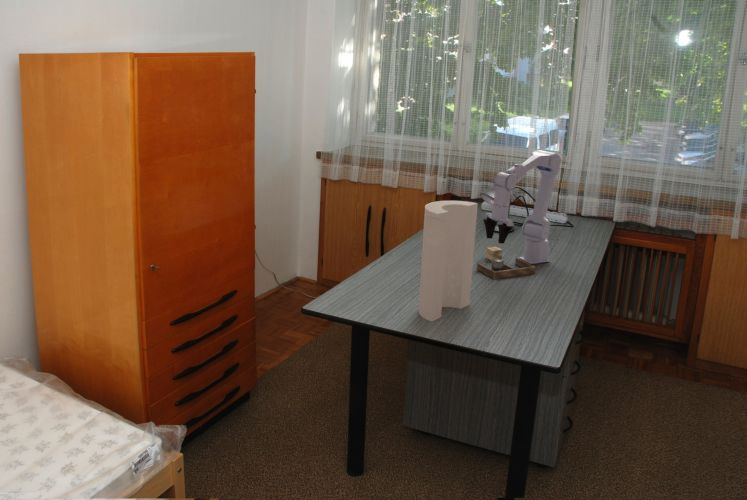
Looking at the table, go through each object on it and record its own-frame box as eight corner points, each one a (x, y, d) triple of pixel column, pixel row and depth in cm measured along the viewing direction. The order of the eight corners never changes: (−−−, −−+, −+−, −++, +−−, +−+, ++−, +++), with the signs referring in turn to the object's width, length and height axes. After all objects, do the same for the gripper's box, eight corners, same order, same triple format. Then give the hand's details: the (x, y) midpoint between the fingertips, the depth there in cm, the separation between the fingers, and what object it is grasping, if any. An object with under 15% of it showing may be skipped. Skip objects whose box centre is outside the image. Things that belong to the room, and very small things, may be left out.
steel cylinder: (497, 270, 282) (499, 258, 281) (504, 274, 278) (506, 261, 277) (488, 271, 280) (489, 259, 279) (495, 275, 276) (496, 262, 275)
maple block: (494, 257, 298) (495, 246, 297) (501, 260, 295) (502, 249, 293) (485, 258, 297) (486, 247, 295) (492, 261, 293) (493, 250, 291)
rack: (516, 264, 290) (517, 258, 290) (534, 273, 281) (535, 266, 280) (476, 269, 282) (477, 263, 282) (494, 278, 273) (494, 272, 272)
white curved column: (471, 305, 246) (433, 322, 231) (444, 296, 253) (405, 312, 238) (480, 203, 235) (440, 214, 220) (451, 197, 243) (411, 207, 227)
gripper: (480, 200, 277) (475, 235, 280) (504, 208, 264) (498, 245, 267) (496, 201, 280) (490, 236, 283) (519, 209, 268) (513, 245, 271)
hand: (495, 240), depth 275 cm, fingers open, 7 cm apart
